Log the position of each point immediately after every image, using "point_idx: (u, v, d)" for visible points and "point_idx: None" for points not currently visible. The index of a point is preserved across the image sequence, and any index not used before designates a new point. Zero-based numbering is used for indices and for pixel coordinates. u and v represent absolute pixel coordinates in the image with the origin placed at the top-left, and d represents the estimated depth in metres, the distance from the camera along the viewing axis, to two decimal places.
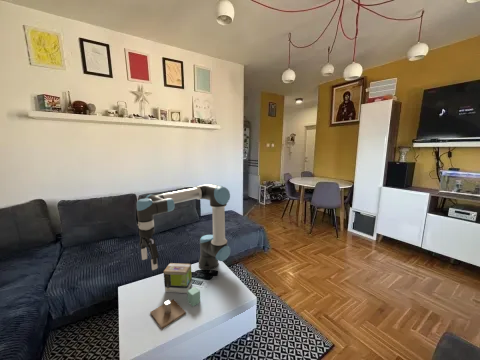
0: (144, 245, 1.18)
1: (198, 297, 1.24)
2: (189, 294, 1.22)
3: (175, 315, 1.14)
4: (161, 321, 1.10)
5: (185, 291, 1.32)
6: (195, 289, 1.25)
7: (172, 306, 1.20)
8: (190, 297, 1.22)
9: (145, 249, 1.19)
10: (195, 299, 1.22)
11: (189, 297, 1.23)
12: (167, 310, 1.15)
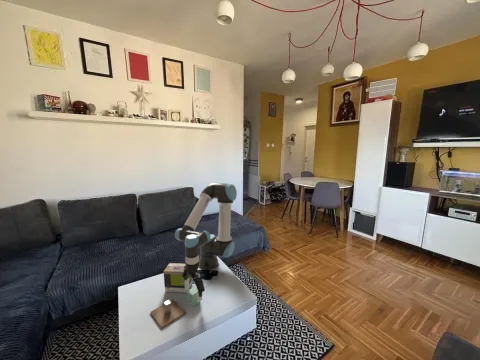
0: (187, 277, 1.26)
1: None
2: (189, 294, 1.22)
3: (175, 315, 1.14)
4: (161, 321, 1.10)
5: (185, 291, 1.32)
6: (195, 289, 1.25)
7: (172, 306, 1.20)
8: (190, 297, 1.22)
9: (188, 280, 1.28)
10: (195, 299, 1.22)
11: (189, 297, 1.23)
12: (167, 310, 1.15)
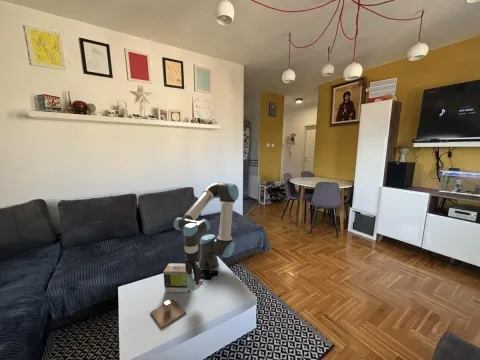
0: (190, 269, 1.23)
1: None
2: (188, 279, 1.21)
3: (175, 315, 1.14)
4: (161, 321, 1.10)
5: (185, 291, 1.32)
6: None
7: (172, 306, 1.20)
8: (189, 282, 1.20)
9: None
10: None
11: (188, 282, 1.21)
12: (167, 310, 1.15)
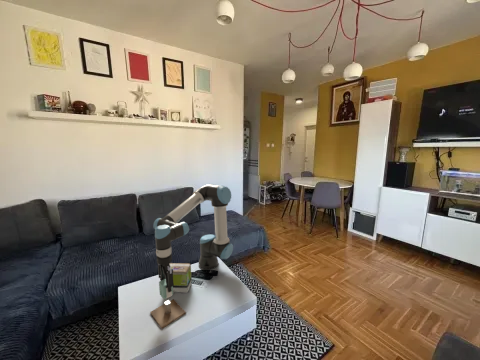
0: (163, 275, 1.14)
1: None
2: (160, 285, 1.12)
3: (175, 315, 1.14)
4: (161, 321, 1.10)
5: (185, 291, 1.32)
6: None
7: (172, 306, 1.20)
8: (161, 289, 1.11)
9: None
10: None
11: (160, 289, 1.12)
12: (167, 310, 1.15)
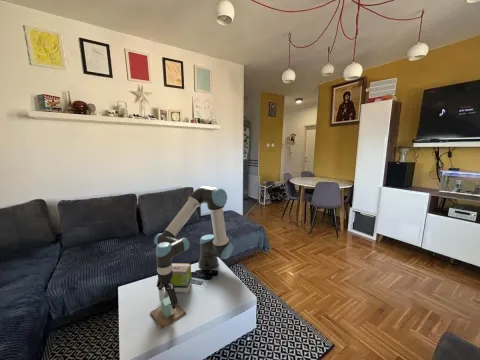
0: (162, 286, 1.18)
1: None
2: (162, 304, 1.13)
3: (175, 315, 1.14)
4: (161, 321, 1.10)
5: (185, 291, 1.32)
6: (169, 299, 1.16)
7: None
8: (163, 308, 1.13)
9: (162, 290, 1.20)
10: (168, 309, 1.13)
11: (162, 308, 1.14)
12: None
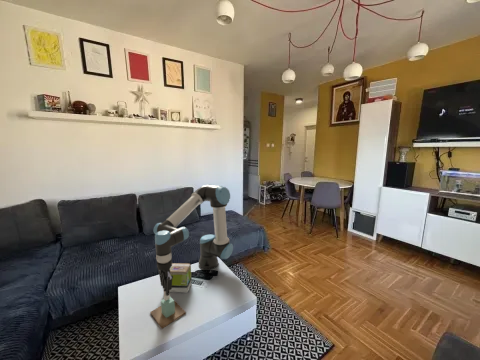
0: None
1: (172, 307, 1.15)
2: (162, 304, 1.13)
3: (175, 315, 1.14)
4: (161, 321, 1.10)
5: (185, 291, 1.32)
6: (169, 299, 1.16)
7: None
8: (163, 308, 1.13)
9: None
10: (168, 309, 1.13)
11: (162, 308, 1.14)
12: None
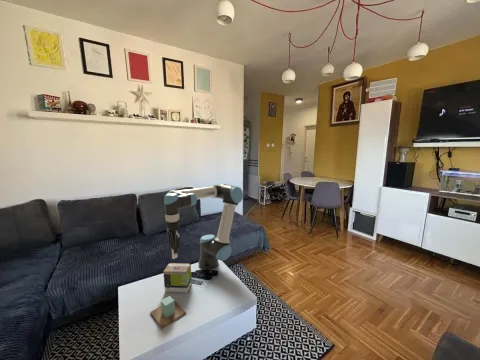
0: None
1: (172, 307, 1.15)
2: (162, 304, 1.13)
3: (175, 315, 1.14)
4: (161, 321, 1.10)
5: (185, 291, 1.32)
6: (169, 299, 1.16)
7: None
8: (163, 308, 1.13)
9: None
10: (168, 309, 1.13)
11: (162, 308, 1.14)
12: None
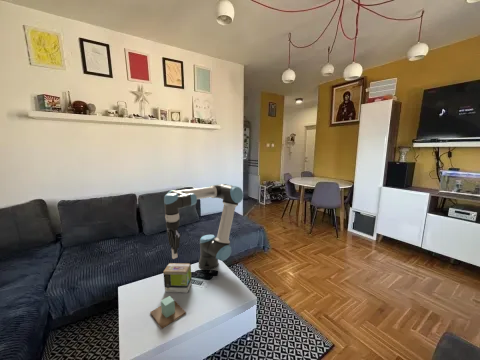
0: None
1: (172, 307, 1.15)
2: (162, 304, 1.13)
3: (175, 315, 1.14)
4: (161, 321, 1.10)
5: (185, 291, 1.32)
6: (169, 299, 1.16)
7: None
8: (163, 308, 1.13)
9: None
10: (168, 309, 1.13)
11: (162, 308, 1.14)
12: None
